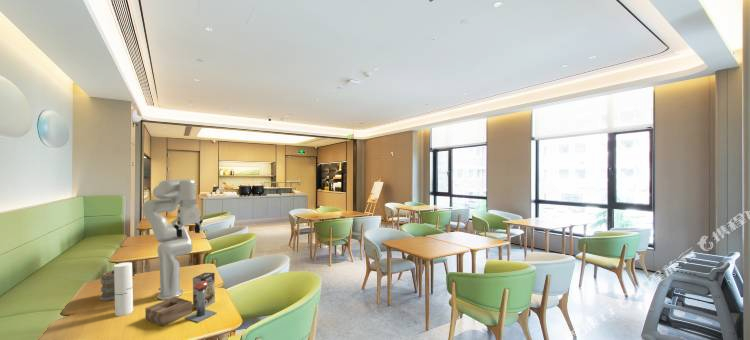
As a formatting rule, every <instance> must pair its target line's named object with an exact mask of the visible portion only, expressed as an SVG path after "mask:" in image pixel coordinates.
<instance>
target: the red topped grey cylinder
mask: <svg viewBox="0 0 750 340" xmlns="http://www.w3.org/2000/svg"><path fill="white" fill-rule="evenodd" d="M207 286H208V282H207V281H199V282H196V283H194V289H197V308H196V312H197V316H198V317H200V316H203V315H205V309H206V307H205V288H206V287H207Z"/></svg>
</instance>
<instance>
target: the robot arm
mask: <svg viewBox="0 0 750 340" xmlns="http://www.w3.org/2000/svg"><path fill="white" fill-rule="evenodd" d="M196 186H197V184H196V181H195V180H194V179H189V178H186V179H185V178H181V179H178V178H177V179H166V180H162V181H160V182H159V183H158V185H157V186H155V187H154V188H153V189H152V195H153V197H155V198H156V199H150V200H146V201H145V202H143V203H142V214H143V216H144V219H146V221H147V222H148V224H149V225H150V227H151V230H152V233H153V236H154V238H155V240H156V241H157V242H158V243H160V244H159V245H157V246H158V247H157V249H156V251H157V255H158V260H159V281H160V283H159V288H158V291H160V293H158V294H157V296H156V297H157V300H162V301H165V300H168V299H170V298H173V297H177V298H179V297H180V296H182V295H183V294H184V290H183V289H181V277H180V276H181V275H180V273H181V271H180V270H181V269H180V262H179V261H178V260H177V259H176V257H179V256H180V257H181V256H184V255H187V254H190V253H191V252H192V251H193V249H194V245H193V241H192V239H191V237H190V235H189V232H188V229H187V228H186V226H188V225H194V233H195V234H200V233H201V232H200V231H201V228H200V227H201V226H202V223H203V221H204V219H205V217H204V216H203V215H200V209H199V205H198V204H197V194H196V191H197V190H196V189H197V187H196ZM176 210H177V212H176V213H177V214H176V218H175V219H173V220H172V221H171V222H170V224H169V220H168V219H167V218H166V217H165V216H163V215H162V214H163V213H169V212H175V211H176ZM160 213H161V214H160Z"/></svg>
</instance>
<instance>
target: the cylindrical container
mask: <svg viewBox="0 0 750 340" xmlns="http://www.w3.org/2000/svg"><path fill="white" fill-rule="evenodd" d="M113 270H114V285H115V299H114V313H115V316H116V317H123V316H126V314H127V315H130V314H131V313H133V312H134V293H133V289H134V288H133V276H132V272H133V263H132V262H130V261H128V262H121V263H116V264H114V265H113ZM132 311H133V312H132Z"/></svg>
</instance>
